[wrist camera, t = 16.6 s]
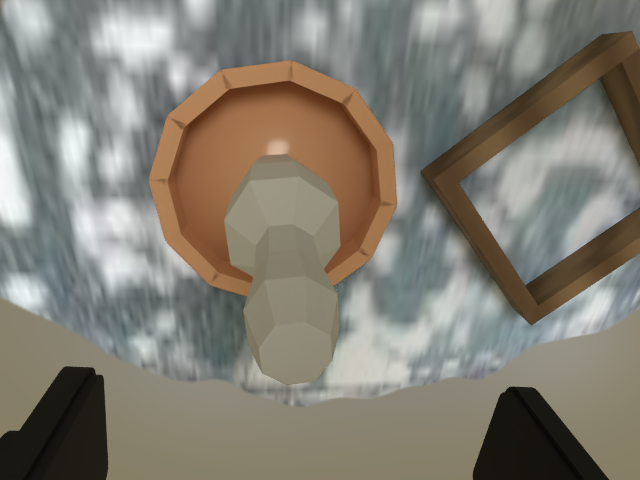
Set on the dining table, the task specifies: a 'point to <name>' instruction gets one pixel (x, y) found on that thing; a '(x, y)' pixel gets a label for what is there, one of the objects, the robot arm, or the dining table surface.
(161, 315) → the dining table surface
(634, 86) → the square wooden frame
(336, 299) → the faceted bottle
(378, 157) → the terracotta dish
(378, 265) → the dining table surface
